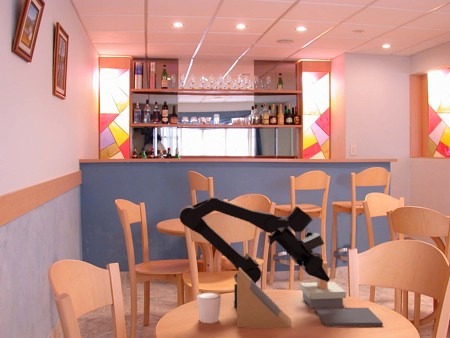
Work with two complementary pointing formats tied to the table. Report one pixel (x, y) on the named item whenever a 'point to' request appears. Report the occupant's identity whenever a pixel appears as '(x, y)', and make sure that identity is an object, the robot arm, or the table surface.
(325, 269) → the lid
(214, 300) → the white cup
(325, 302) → the grey square block
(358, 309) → the mat
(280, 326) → the sandwich container
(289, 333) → the table surface
